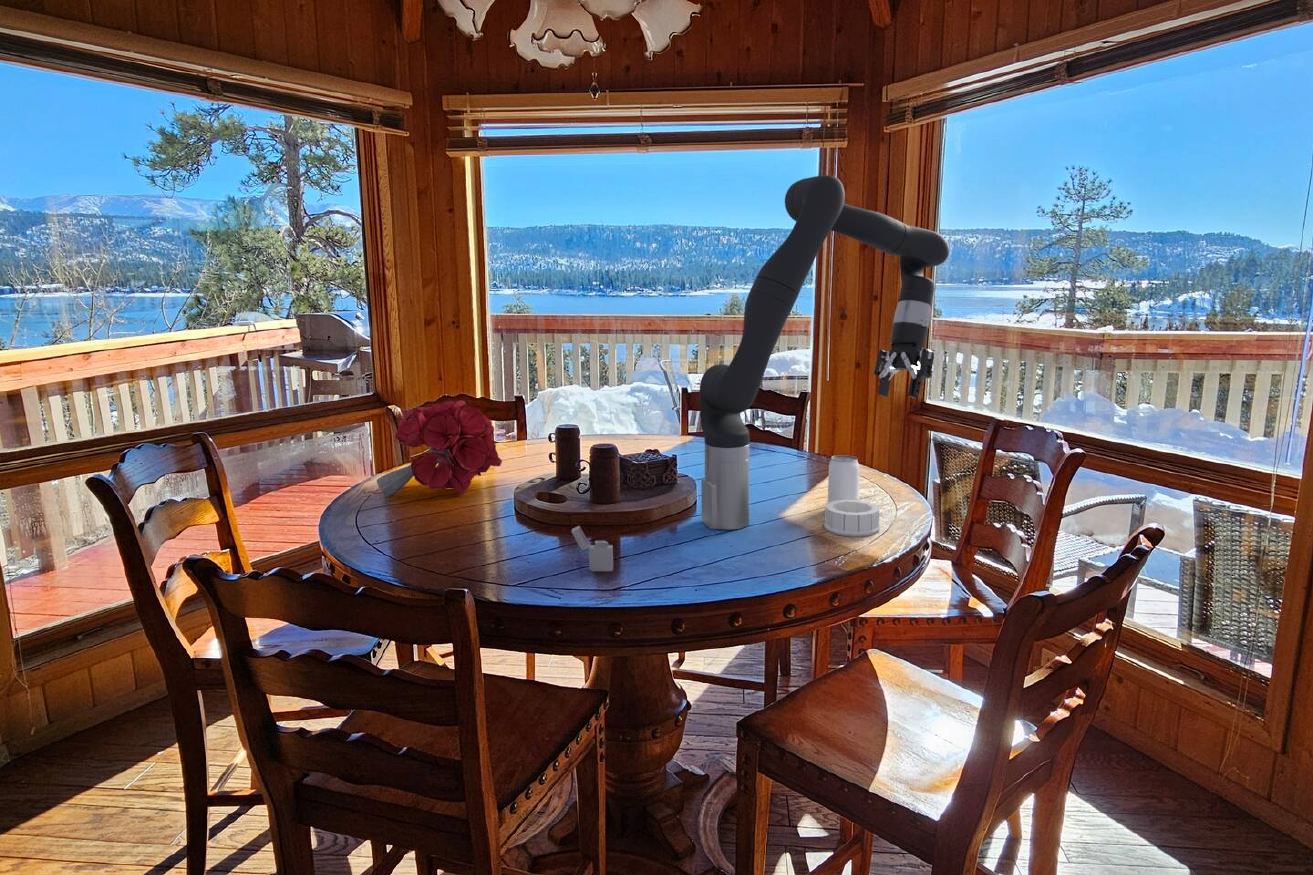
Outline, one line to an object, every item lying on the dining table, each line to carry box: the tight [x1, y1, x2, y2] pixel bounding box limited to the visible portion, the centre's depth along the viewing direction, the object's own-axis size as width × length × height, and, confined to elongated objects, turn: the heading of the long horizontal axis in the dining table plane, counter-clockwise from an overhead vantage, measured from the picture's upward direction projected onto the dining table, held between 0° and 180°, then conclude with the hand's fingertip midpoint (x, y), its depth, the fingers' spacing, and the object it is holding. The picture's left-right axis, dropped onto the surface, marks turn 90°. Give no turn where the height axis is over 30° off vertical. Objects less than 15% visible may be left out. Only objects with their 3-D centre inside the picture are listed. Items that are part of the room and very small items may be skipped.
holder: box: [823, 499, 880, 538], centre depth 163 cm, size 11×11×4 cm
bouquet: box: [376, 400, 503, 498], centre depth 192 cm, size 22×24×30 cm
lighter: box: [571, 525, 614, 572], centre depth 142 cm, size 7×2×8 cm, turn 88°
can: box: [827, 454, 860, 503], centre depth 173 cm, size 6×6×12 cm
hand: (897, 396), depth 175 cm, fingers open, 8 cm apart
